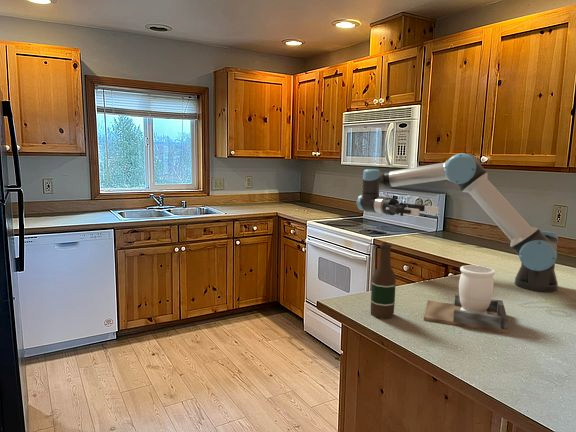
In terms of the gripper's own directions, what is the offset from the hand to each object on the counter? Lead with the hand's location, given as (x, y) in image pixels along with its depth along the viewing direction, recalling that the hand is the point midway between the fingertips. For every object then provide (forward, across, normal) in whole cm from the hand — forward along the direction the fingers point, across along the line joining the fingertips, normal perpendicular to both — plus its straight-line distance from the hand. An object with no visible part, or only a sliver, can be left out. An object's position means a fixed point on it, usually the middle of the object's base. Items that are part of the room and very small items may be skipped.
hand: (429, 211), depth 169 cm
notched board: (+29, +20, -30) cm, 46 cm away
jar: (+30, +17, -29) cm, 45 cm away
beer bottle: (+12, +41, -30) cm, 52 cm away
